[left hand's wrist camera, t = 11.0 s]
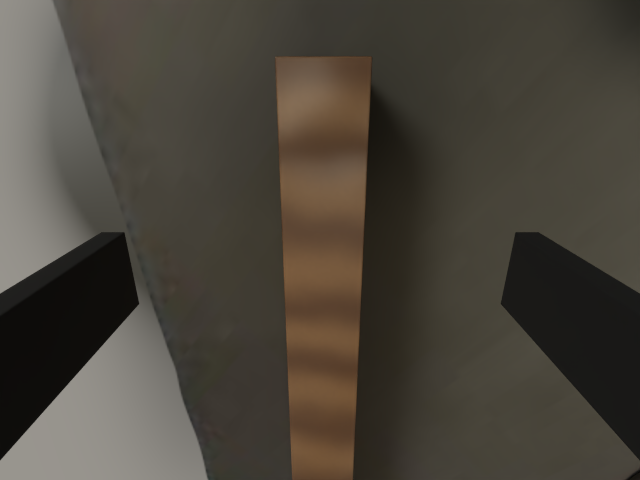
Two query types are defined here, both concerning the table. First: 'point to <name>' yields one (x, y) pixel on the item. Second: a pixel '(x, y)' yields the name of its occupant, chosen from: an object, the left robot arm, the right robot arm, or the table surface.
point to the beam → (323, 251)
